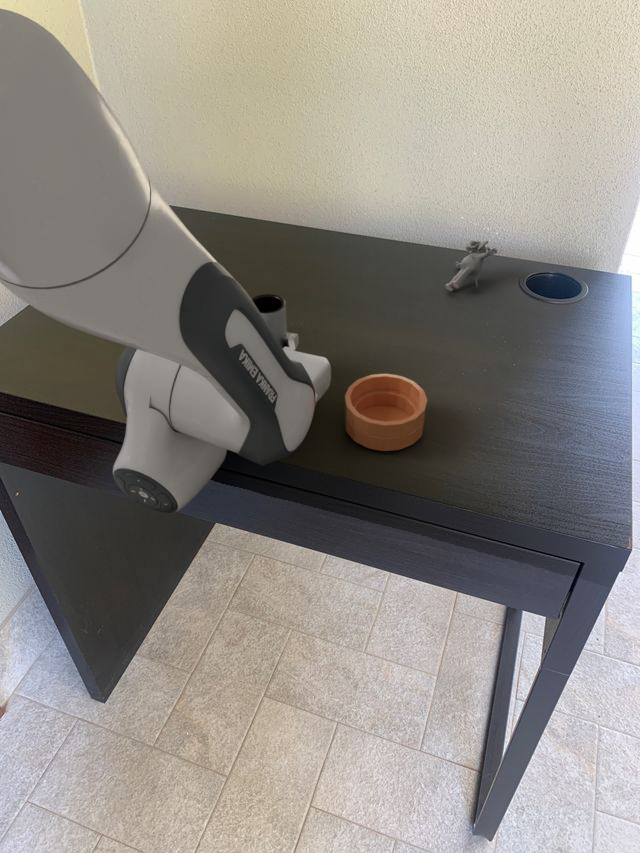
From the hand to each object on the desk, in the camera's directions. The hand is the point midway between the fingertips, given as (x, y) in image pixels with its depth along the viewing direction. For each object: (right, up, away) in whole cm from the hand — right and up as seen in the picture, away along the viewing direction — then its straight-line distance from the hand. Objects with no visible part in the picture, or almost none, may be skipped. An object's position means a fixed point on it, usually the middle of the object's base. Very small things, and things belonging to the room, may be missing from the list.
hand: (271, 332), depth 86 cm
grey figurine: (+29, +10, +20) cm, 37 cm away
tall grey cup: (0, -5, +3) cm, 6 cm away
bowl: (+14, -12, -6) cm, 19 cm away
